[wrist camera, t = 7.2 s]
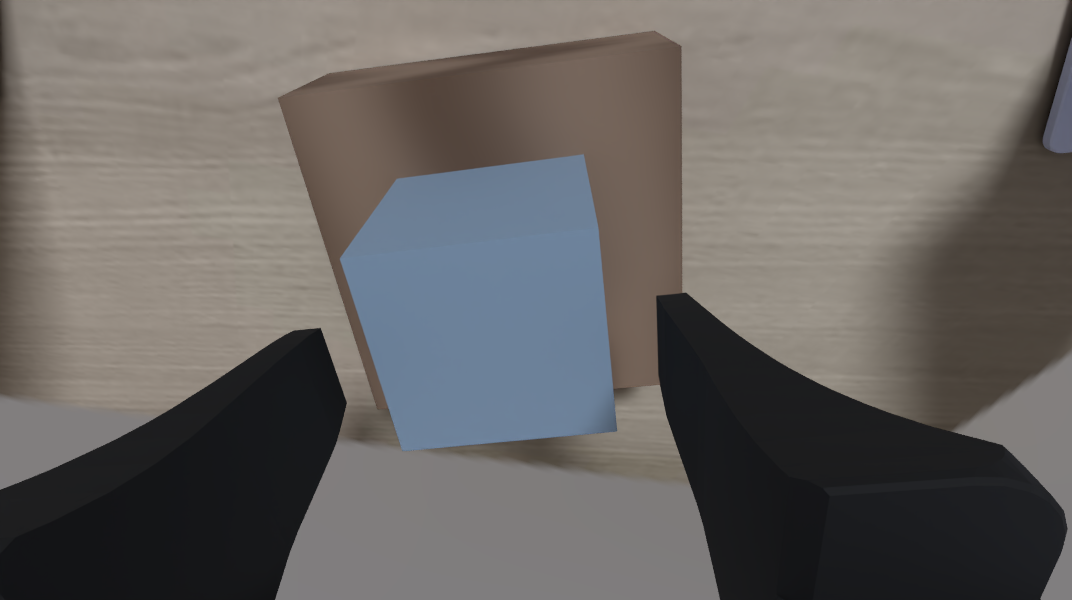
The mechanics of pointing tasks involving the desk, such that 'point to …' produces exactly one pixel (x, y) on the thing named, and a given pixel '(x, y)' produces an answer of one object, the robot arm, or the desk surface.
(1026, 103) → the desk surface
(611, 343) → the walnut block
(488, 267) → the blue cube
